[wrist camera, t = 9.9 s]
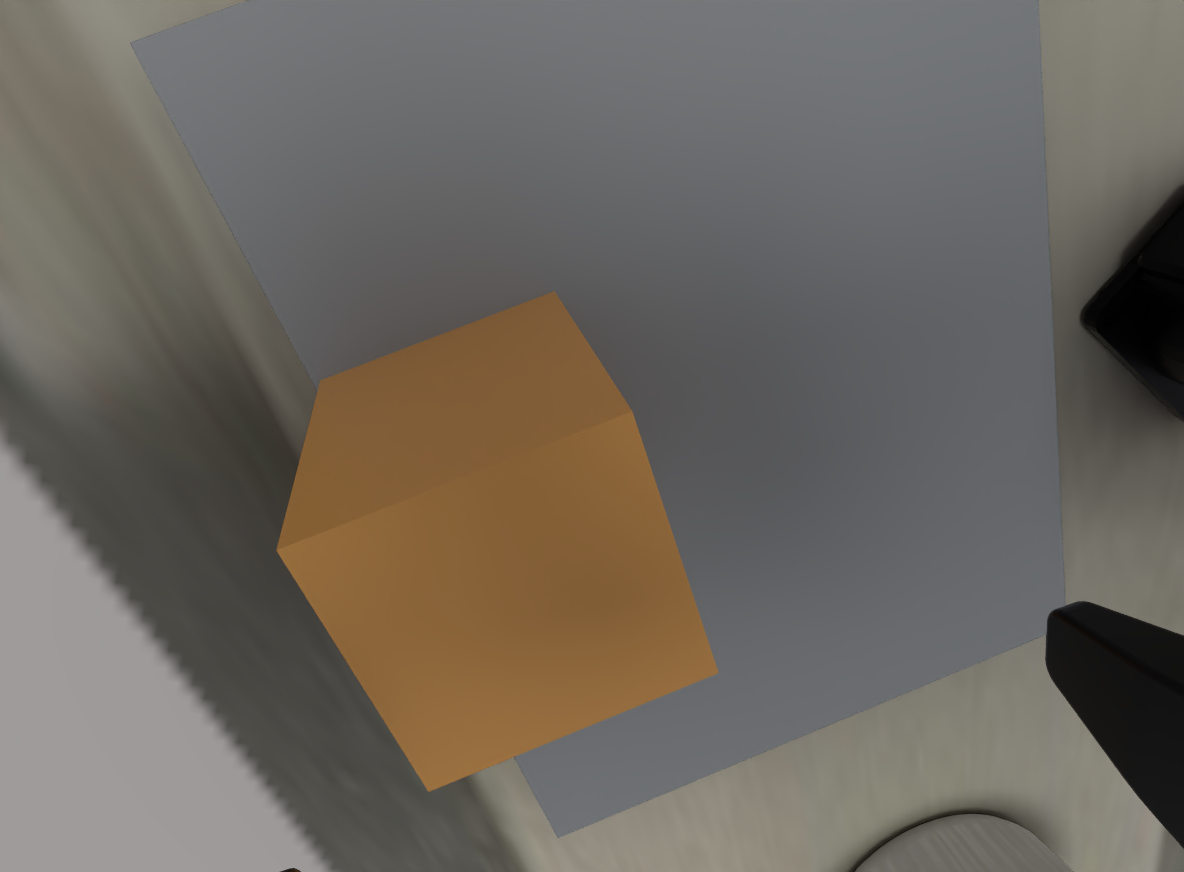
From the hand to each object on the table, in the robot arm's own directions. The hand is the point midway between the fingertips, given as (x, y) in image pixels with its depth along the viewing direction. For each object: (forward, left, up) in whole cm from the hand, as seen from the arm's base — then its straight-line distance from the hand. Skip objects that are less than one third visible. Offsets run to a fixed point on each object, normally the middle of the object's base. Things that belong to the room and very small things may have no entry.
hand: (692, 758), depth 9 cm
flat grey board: (-5, -2, -13) cm, 14 cm away
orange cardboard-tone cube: (+1, +2, -11) cm, 11 cm away
